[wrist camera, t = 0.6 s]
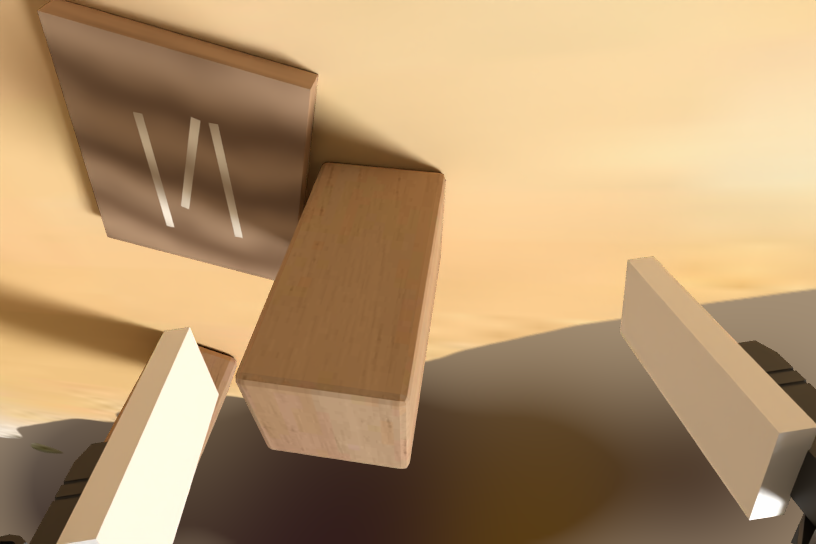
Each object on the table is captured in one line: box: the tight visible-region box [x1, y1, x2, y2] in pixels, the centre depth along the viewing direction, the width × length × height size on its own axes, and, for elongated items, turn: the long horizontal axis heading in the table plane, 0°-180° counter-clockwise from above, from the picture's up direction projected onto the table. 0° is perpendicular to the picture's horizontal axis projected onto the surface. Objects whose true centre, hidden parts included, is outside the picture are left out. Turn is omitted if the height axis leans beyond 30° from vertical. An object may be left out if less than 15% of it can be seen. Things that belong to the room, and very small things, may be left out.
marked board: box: [37, 0, 318, 281], centre depth 44 cm, size 22×18×2 cm
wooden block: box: [236, 162, 446, 469], centre depth 39 cm, size 10×10×20 cm
